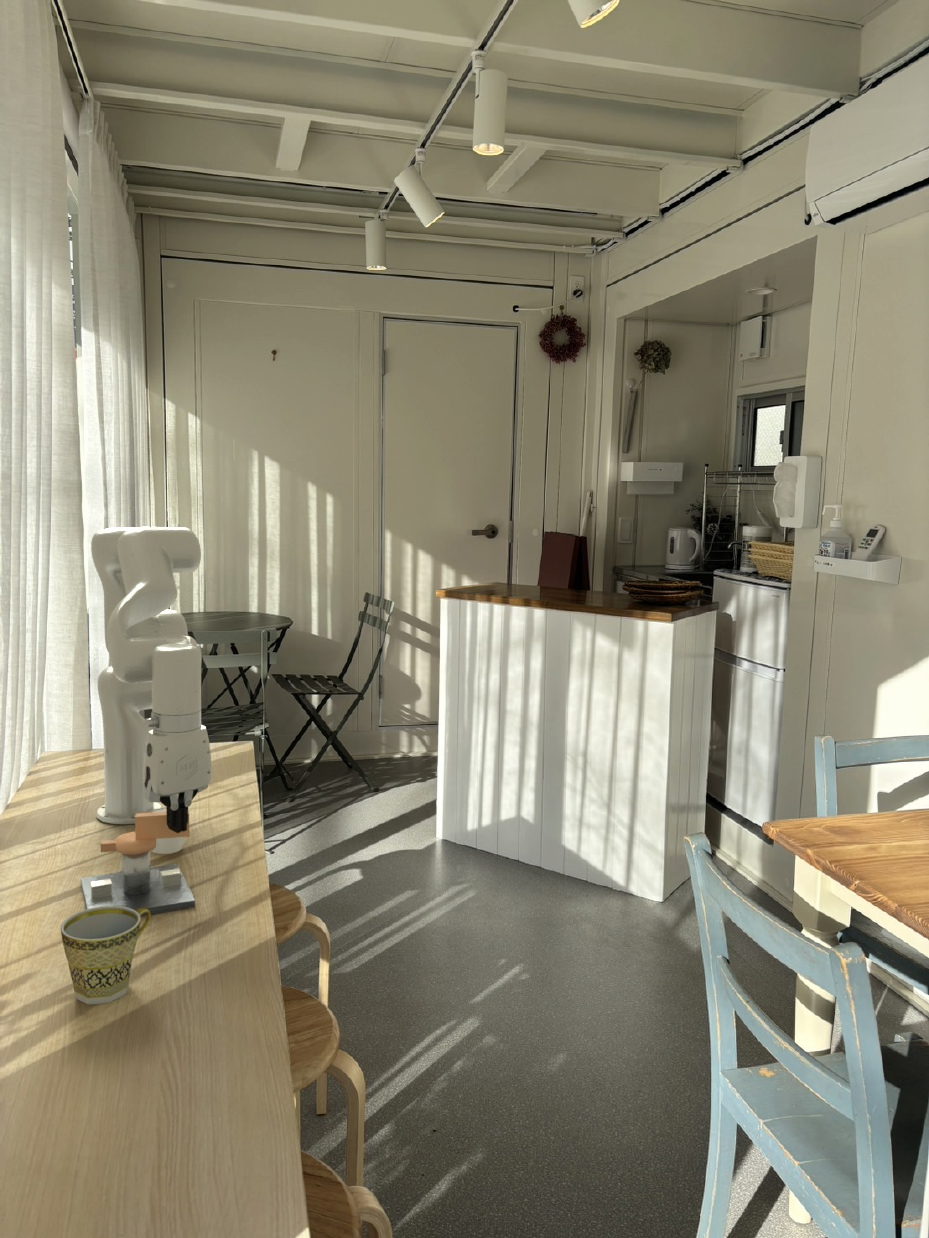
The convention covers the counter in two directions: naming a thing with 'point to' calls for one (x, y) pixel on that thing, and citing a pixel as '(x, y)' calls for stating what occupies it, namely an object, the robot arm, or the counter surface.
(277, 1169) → the counter surface
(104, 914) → the ceramic cup
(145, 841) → the orange lever handle
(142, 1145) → the counter surface
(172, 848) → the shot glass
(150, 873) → the grey plate with posts
